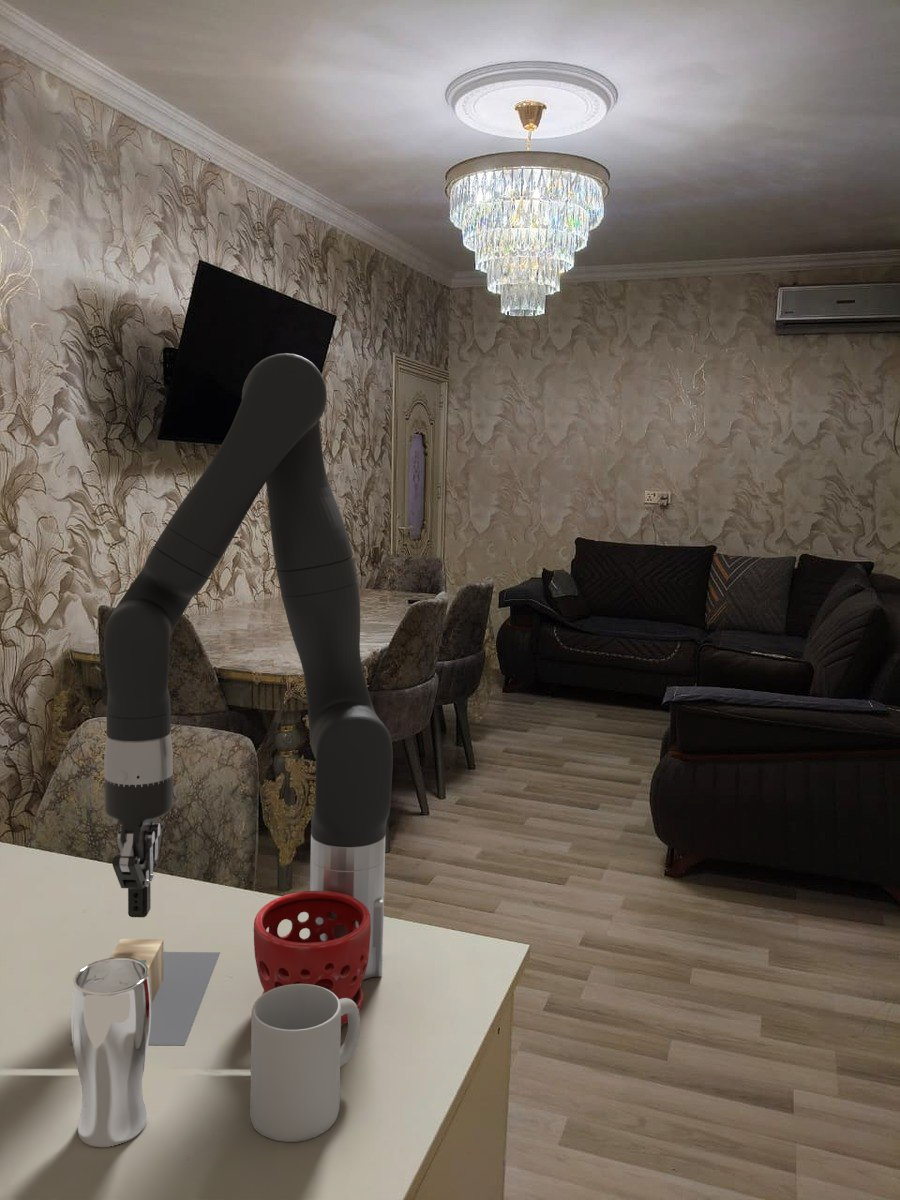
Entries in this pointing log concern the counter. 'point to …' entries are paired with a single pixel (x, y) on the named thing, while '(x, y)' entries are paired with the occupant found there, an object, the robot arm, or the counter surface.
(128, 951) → the maple block
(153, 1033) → the rubber mat
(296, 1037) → the mug
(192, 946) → the counter surface
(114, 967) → the beer glass
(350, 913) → the plant pot
